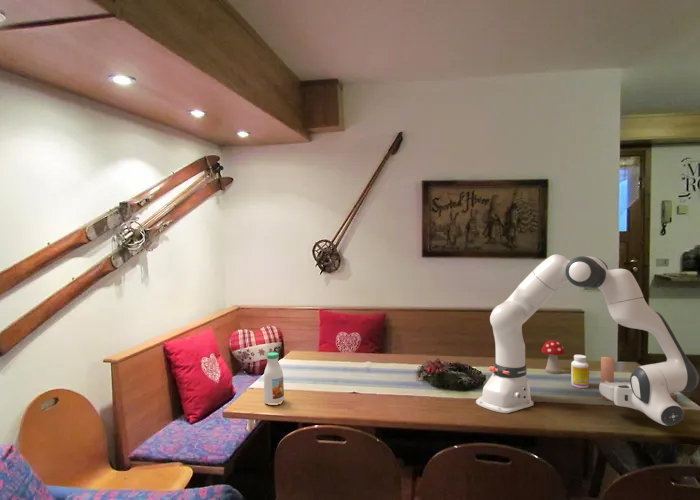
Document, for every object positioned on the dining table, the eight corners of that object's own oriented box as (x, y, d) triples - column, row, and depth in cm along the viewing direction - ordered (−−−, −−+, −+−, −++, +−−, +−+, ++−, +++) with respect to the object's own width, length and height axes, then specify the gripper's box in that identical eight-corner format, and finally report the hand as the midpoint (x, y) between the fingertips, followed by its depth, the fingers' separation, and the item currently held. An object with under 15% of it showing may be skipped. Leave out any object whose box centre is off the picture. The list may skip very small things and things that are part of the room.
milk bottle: (265, 407, 173) (263, 357, 172) (263, 400, 180) (262, 351, 179) (285, 404, 175) (283, 355, 174) (282, 397, 182) (281, 350, 181)
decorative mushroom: (560, 369, 209) (560, 338, 209) (567, 375, 201) (567, 342, 200) (539, 369, 210) (538, 338, 210) (545, 375, 202) (545, 342, 201)
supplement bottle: (591, 389, 184) (591, 358, 183) (573, 388, 185) (573, 358, 184) (585, 383, 190) (586, 354, 189) (569, 382, 191) (569, 353, 191)
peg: (611, 401, 171) (611, 360, 170) (599, 398, 174) (599, 358, 173) (615, 398, 173) (615, 358, 172) (603, 395, 177) (603, 355, 176)
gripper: (673, 387, 150) (648, 374, 164) (611, 387, 151) (591, 374, 165) (673, 405, 150) (648, 390, 164) (611, 405, 151) (591, 390, 165)
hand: (619, 382), depth 164 cm, fingers open, 8 cm apart
